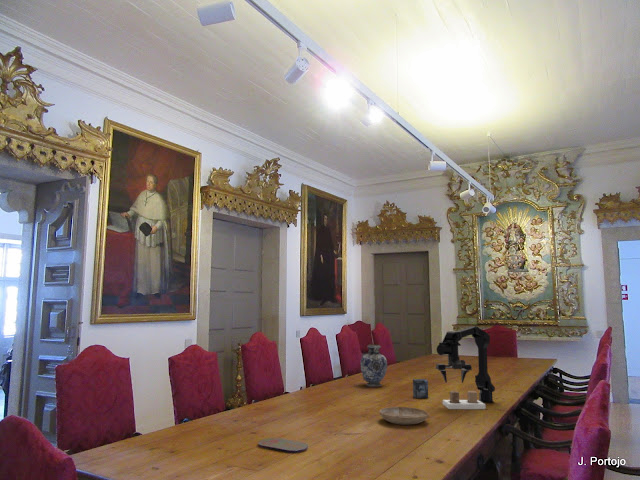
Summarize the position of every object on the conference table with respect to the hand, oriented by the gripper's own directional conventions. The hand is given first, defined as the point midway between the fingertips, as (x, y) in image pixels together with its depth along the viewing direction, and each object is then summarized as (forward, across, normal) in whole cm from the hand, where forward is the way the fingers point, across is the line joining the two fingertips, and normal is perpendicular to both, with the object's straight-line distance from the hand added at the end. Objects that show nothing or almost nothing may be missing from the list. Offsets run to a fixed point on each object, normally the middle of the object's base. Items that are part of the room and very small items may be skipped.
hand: (454, 382), depth 262 cm
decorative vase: (+13, -36, +67) cm, 77 cm away
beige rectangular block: (+13, 0, 0) cm, 13 cm away
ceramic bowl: (+13, -35, -33) cm, 50 cm away
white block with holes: (+13, +5, 0) cm, 14 cm away
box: (+13, -13, +26) cm, 32 cm away
